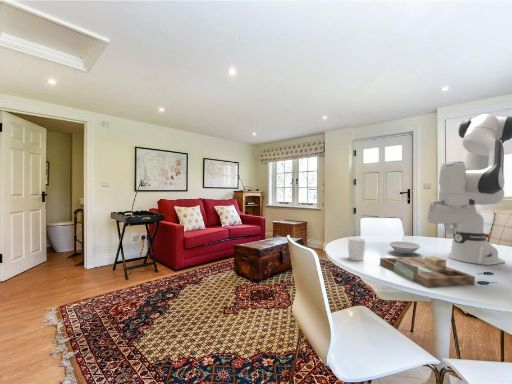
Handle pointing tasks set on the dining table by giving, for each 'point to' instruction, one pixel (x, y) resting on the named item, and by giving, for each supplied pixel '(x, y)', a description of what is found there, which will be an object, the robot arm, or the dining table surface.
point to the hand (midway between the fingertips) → (451, 233)
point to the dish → (404, 246)
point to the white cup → (356, 248)
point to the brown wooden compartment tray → (426, 272)
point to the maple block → (435, 263)
